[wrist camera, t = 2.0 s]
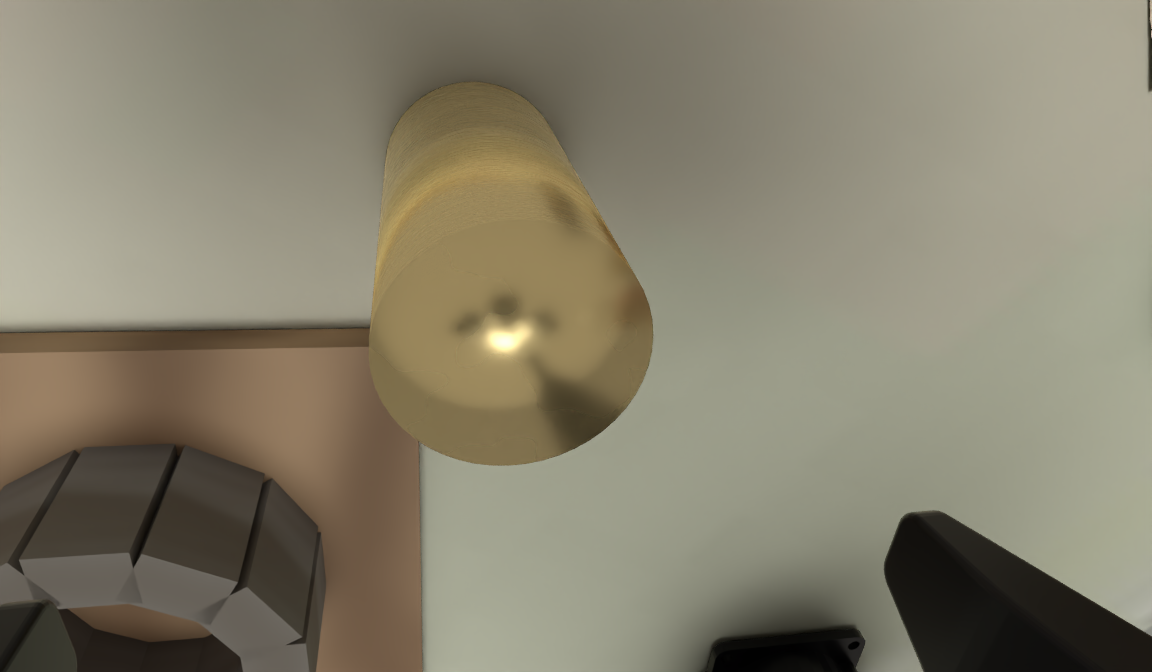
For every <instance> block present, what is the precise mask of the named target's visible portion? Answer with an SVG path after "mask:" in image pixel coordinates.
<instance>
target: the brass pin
mask: <svg viewBox="0 0 1152 672" xmlns="http://www.w3.org/2000/svg"><path fill="white" fill-rule="evenodd" d="M652 344H653V324H652V316H651V312H650V307H649V303H648V301H647V298H646V296H645V293H644V290H643V288H642V287H641V285H640V283H639V281H638V280H637V278H636V276H635V274H634V273H633V271H632V269H631V267H630V266H629V264H628V262H627V260H626V259H625V257H624V255H623V253H622V252H621V250H620V248H619V246H618V245H617V243H616V241H615V240H614V238H613V236H612V234H611V233H610V231H609V229H608V227H607V226H606V224H605V222H604V220H603V219H602V217H601V215H600V213H599V212H598V210H597V208H596V206H595V205H594V203H593V201H592V199H591V198H590V196H589V194H588V193H587V191H586V189H585V187H584V186H583V184H582V182H581V180H580V179H579V177H578V175H577V173H576V172H575V170H574V168H573V166H572V165H571V163H570V161H569V159H568V158H567V156H566V154H565V153H564V151H563V149H562V147H561V146H560V144H559V142H558V140H557V139H556V137H555V135H554V133H553V132H552V130H551V128H550V126H549V125H548V123H547V121H546V120H545V118H544V117H543V116H542V115H541V113H540V112H539V111H538V110H537V109H536V108H535V107H534V106H533V105H532V104H531V103H530V102H528V101H527V100H526V99H524V98H523V97H522V96H520V95H518V94H517V93H515V92H513V91H511V90H509V89H506V88H504V87H501V86H498V85H494V84H490V83H483V82H461V83H455V84H450V85H447V86H443V87H440V88H438V89H436V90H434V91H432V92H430V93H428V94H426V95H425V96H423V97H422V98H420V99H419V100H418V101H416V102H415V103H414V104H413V105H412V106H411V107H410V108H409V109H408V110H407V111H406V112H405V113H404V114H403V116H402V117H401V119H400V120H399V121H398V123H397V124H396V126H395V128H394V131H393V133H392V135H391V138H390V141H389V144H388V147H387V153H386V160H385V171H384V182H383V193H382V204H381V215H380V226H379V237H378V248H377V258H376V269H375V280H374V291H373V302H372V313H371V324H370V335H369V363H370V371H371V375H372V379H373V382H374V385H375V388H376V391H377V393H378V395H379V397H380V399H381V401H382V403H383V405H384V406H385V408H386V409H387V411H388V412H389V414H390V415H391V416H392V418H393V419H394V420H395V421H396V422H397V423H398V424H399V425H400V426H401V427H402V428H403V429H404V430H405V431H406V432H407V433H408V434H410V435H411V436H412V437H413V438H414V439H416V440H418V441H419V442H421V443H422V444H424V445H425V446H427V447H429V448H431V449H433V450H435V451H437V452H439V453H441V454H443V455H446V456H449V457H452V458H455V459H458V460H462V461H466V462H471V463H475V464H484V465H518V464H527V463H532V462H537V461H542V460H545V459H549V458H552V457H555V456H558V455H561V454H563V453H565V452H568V451H570V450H572V449H575V448H577V447H578V446H580V445H582V444H584V443H586V442H587V441H589V440H591V439H592V438H593V437H595V436H596V435H598V434H599V433H600V432H602V431H603V430H604V429H606V428H607V427H608V426H609V425H610V424H611V423H612V422H613V421H615V420H616V419H617V417H618V416H619V415H620V414H621V413H622V412H623V411H624V410H625V409H626V407H627V406H628V404H629V403H630V402H631V400H632V399H633V397H634V396H635V395H636V393H637V391H638V389H639V387H640V385H641V383H642V381H643V379H644V376H645V374H646V371H647V368H648V366H649V361H650V357H651V353H652Z"/></svg>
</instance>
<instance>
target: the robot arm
mask: <svg viewBox="0 0 1152 672" xmlns="http://www.w3.org/2000/svg"><path fill="white" fill-rule="evenodd" d="M884 574H885V579H886V582H887V585H888V587H889V590H890V592H891V595H892V597H893V599H894V602H895V604H896V607H897V609H898V611H899V614H900V616H901V619H902V621H903V623H904V626H905V628H906V631H907V633H908V635H909V638H910V640H911V643H912V645H913V647H914V650H915V652H916V655H917V657H918V659H919V662H920V664H921V667H922V669H923V671H924V672H1152V636H1150V635H1148V634H1146V633H1145V632H1143V631H1142V630H1140V629H1138V628H1137V627H1135V626H1133V625H1132V624H1130V623H1128V622H1127V621H1125V620H1123V619H1122V618H1120V617H1118V616H1117V615H1115V614H1113V613H1112V612H1110V611H1108V610H1107V609H1105V608H1103V607H1101V606H1100V605H1098V604H1096V603H1095V602H1093V601H1091V600H1090V599H1088V598H1086V597H1085V596H1083V595H1081V594H1080V593H1078V592H1076V591H1075V590H1073V589H1071V588H1070V587H1068V586H1066V585H1065V584H1063V583H1061V582H1059V581H1058V580H1056V579H1054V578H1053V577H1051V576H1049V575H1048V574H1046V573H1044V572H1043V571H1041V570H1039V569H1038V568H1036V567H1034V566H1033V565H1031V564H1029V563H1028V562H1026V561H1024V560H1023V559H1021V558H1019V557H1017V556H1016V555H1014V554H1012V553H1011V552H1009V551H1007V550H1006V549H1004V548H1002V547H1001V546H999V545H997V544H996V543H994V542H992V541H991V540H989V539H987V538H986V537H984V536H982V535H981V534H979V533H977V532H975V531H974V530H972V529H970V528H969V527H967V526H965V525H964V524H962V523H960V522H959V521H957V520H955V519H954V518H952V517H950V516H949V515H947V514H945V513H943V512H940V511H935V510H932V511H921V512H911V513H908V514H906V515H904V516H903V517H902V518H901V520H900V522H899V524H898V527H897V529H896V532H895V535H894V537H893V540H892V542H891V545H890V548H889V550H888V553H887V556H886V558H885V562H884ZM864 645H865V640H864V638H863V636H862V635H861V633H860V631H859V630H857V629H848V630H839V631H829V632H819V633H809V634H799V635H789V636H779V637H769V638H759V639H749V640H739V641H729V642H723V643H720V644H718V645H716V646H715V647H714V648H713V650H712V652H711V656H710V660H709V664H708V668H707V672H858V671H857V669H856V666H857V663H858V661H859V658H860V656H861V653H862V651H863V648H864ZM0 672H77V658H76V653H75V650H74V647H73V645H72V642H71V640H70V638H69V635H68V633H67V630H66V628H65V625H64V623H63V620H62V618H61V615H60V613H59V610H58V608H57V607H56V605H55V604H54V603H53V602H52V601H50V600H46V599H38V600H28V601H18V602H9V603H5V604H2V605H0Z"/></svg>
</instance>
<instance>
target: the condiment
mask: <svg viewBox="0 0 1152 672" xmlns="http://www.w3.org/2000/svg"><path fill="white" fill-rule="evenodd" d="M1150 22H1151V27H1152V0H1150ZM1151 37H1152V32H1151Z"/></svg>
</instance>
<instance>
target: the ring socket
mask: <svg viewBox="0 0 1152 672" xmlns="http://www.w3.org/2000/svg"><path fill="white" fill-rule="evenodd" d="M369 335H370V328H357V329H280V330H204V331H128V332H52V333H0V605H2V604H5V603H9V602H18V601H28V600H38V599H46V600H50V601H52V602H53V603H54V604H55V605H56V607H57V608H58V610H59V613H60V615H61V618H62V620H63V623H64V625H65V628H66V630H67V633H68V635H69V638H70V640H71V642H72V645H73V647H74V650H75V653H76V658H77V672H422V616H421V554H420V493H419V441H418V440H416V439H414V438H413V437H412V436H411V435H410V434H408V433H407V432H406V431H405V430H404V429H403V428H402V427H401V426H400V425H399V424H398V423H397V422H396V421H395V420H394V419H393V418H392V416H391V415H390V414H389V412H388V411H387V409H386V408H385V406H384V405H383V403H382V401H381V399H380V397H379V395H378V393H377V391H376V388H375V385H374V382H373V379H372V375H371V371H370V363H369Z"/></svg>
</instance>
